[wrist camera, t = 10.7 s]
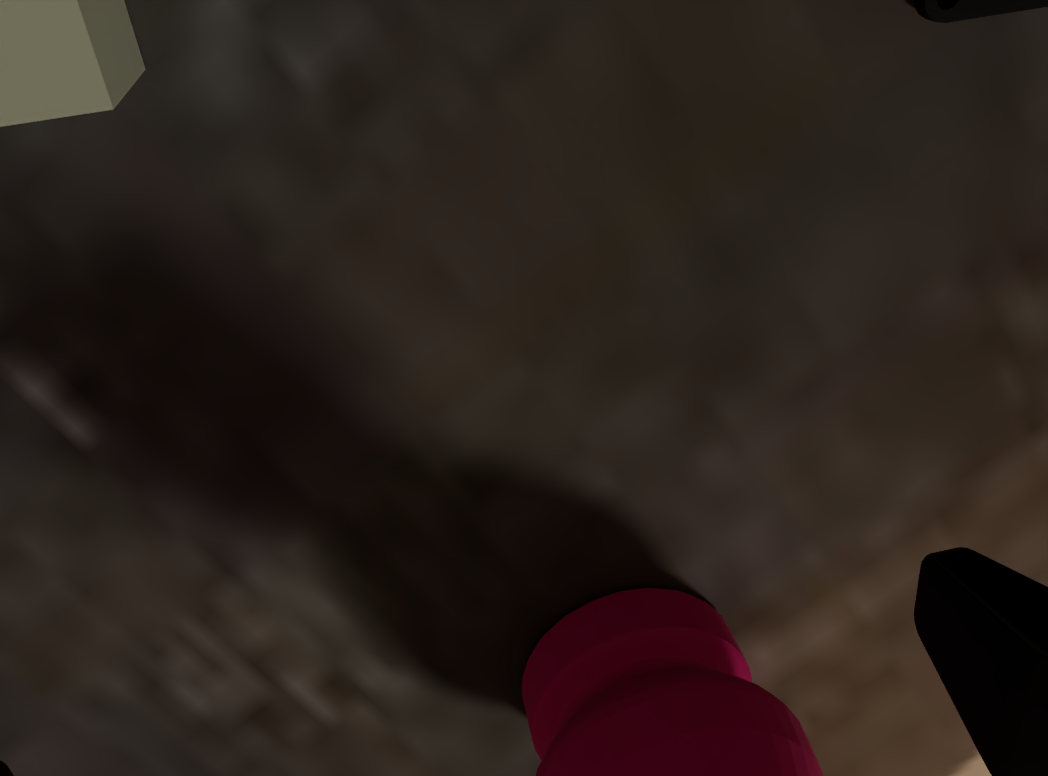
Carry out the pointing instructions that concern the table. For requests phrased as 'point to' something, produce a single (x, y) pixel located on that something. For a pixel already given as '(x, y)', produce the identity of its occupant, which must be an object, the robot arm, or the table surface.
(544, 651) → the pepper mill
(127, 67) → the sage base
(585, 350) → the table surface
